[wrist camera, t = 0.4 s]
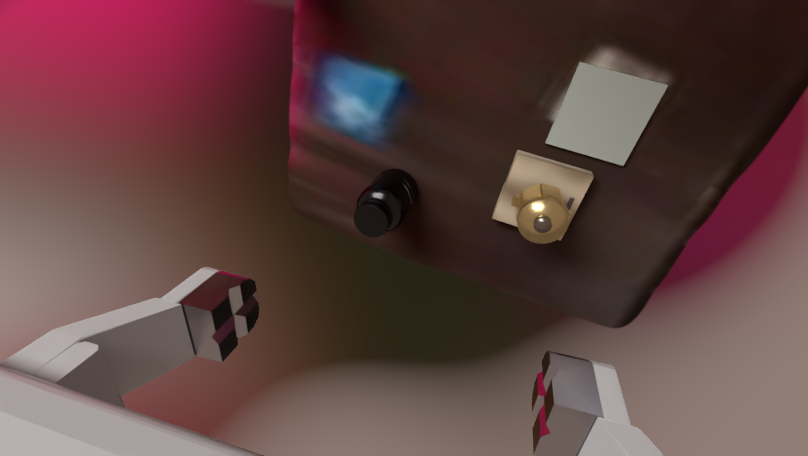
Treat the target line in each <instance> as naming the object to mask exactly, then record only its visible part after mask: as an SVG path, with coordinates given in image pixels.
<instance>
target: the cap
mask: <svg viewBox="0 0 808 456" xmlns="http://www.w3.org/2000/svg"><path fill="white" fill-rule="evenodd" d="M511 206H514V207H516V221H517V226H518V229H519V232H520V233H521V234H522V236H523V237H524V238H526V239H527V240H529V241H531V242H534V243H539V244H546V243H551V242H554V241H556V240H558V239H559V238H560V237H562V236H563V235H564V233H565V232H566V230H567V228H568V224H569V219H570V217H571V215H572V211H571V210H568V209H567V205H566V202H565V200H564V198H563V196H562V194H561V191H560V189H558V188H557V187H553V186H550V185H547V184H544V183H541V184H540V183H538V184H536V185H533V186H531V187H529V188H526V189H524V190H523V191H522V192H521V195H519V194H516V193H515V194H514V197H513V199H512V202H511Z"/></svg>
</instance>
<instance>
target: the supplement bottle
mask: <svg viewBox="0 0 808 456" xmlns="http://www.w3.org/2000/svg"><path fill="white" fill-rule="evenodd" d="M416 197H417V186H416V183H415V181H414V179H413V178H412V177H411V176H410V175H409V174H408V173H407V172H405V171H403V170H400V169H388V170H386V171H384V172H382V173H381V174H380V175H379V176H378V177H377V178H376V179H375V180H374V181H373V182H372V183H371V184H370V185H369V186H368V187H367V188H366V189H365V190H364V191H363V192H362V193H361V194H360V196H359V198H358V201H357V209H356V211H355V213H354V223H355V226H356V227H357V229H358V230H359V231H360V232H361V233H362V234H364V235H365V236H368V237H375V238H376V237H379V236H382V235H383V234H385V232H389V231H392V230H394V229H396V228H397V227H398V226H399V225H400V224H401V222H402V221H403V219H404V218H405V216H406V214H407V213H408V211H409V210H410V208H411V207H412V205H413V204H414V202H415V200H416Z"/></svg>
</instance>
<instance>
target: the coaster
mask: <svg viewBox="0 0 808 456" xmlns="http://www.w3.org/2000/svg"><path fill="white" fill-rule="evenodd" d="M667 87H668V85H666V84H662V83H659V82H655V81H651V80H647V79H643V78H640V77H636V76H632V75H628V74H624V73H621V72H617V71H613V70H609V69H605V68H602V67H598V66H594V65H590V64H586V63H583V62H579V65H578V67H577V69H576V72H575V74H574V76H573V79H572V81H571V83H570V86H569V88H568V90H567V93H566V95H565V97H564V100H563V102H562V104H561V107H560V109H559V111H558V114H557V116H556V118H555V121H554V123H553V125H552V128H551V130H550V133H549V135H548V137H547V140H546V143H547V144H550V145H553V146H557V147H560V148H564V149H567V150H570V151H574V152H577V153H581V154H584V155H588V156H591V157H594V158H598V159H601V160H605V161H608V162H612V163H615V164H618V165H622V166H624V164H625V162H626V160H627V159H628V157H629V155H630V153H631V151H632V150H633V148H634V146H635V144H636V142H637V141H638V139H639V137H640V135H641V133H642V132H643V130H644V128H645V126H646V124H647V123H648V121H649V119H650V117H651V115H652V114H653V112H654V110H655V108H656V106H657V105H658V103H659V101H660V99H661V97H662V96H663V94H664V92H665V90H666V89H667Z"/></svg>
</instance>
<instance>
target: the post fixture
mask: <svg viewBox="0 0 808 456" xmlns="http://www.w3.org/2000/svg"><path fill="white" fill-rule="evenodd" d="M593 178H594V176H593V174H592V172H591V171H588V170H584V169H581V168H578V167H574V166H571V165H568V164H564V163H561V162H557V161H554V160H551V159H547V158H544V157H541V156H537V155H534V154H531V153H527V152H524V151H520V150H517V152H516V155H515V158H514V160H513V163H512V165H511V168H510V170H509V173H508V175H507V178H506V181H505V183H504V186H503V188H502V191H501V193H500V196H499V198H498V201H497V204H496V206H495V209H494V211H493V216H492V219H495V220H498V221H501V222H504V223H507V224H511V225H514V226H517V221H516V207H514V206H511V202H512V199H513V197H514V194H515V193H516V194H519V195H521V192H522V191H523V190H524V189H526V188H529V187H531V186H533V185H536V184H538V183H540V184H541V183H544V184H547V185H550V186H553V187H557V188H558V189H560V191H561V194H562V196H563V198H564V200H565V202H566V205H567V209H568V210H571V211H572V215H571V217H570V219H569V224H570V222H571V220H572V218H573V216H574V214H575V212H576V211H577V209H578V207H579V205H580V203H581V201H582V199H583V197H584V195H585V193H586V191H587V189H588V188H589V186H590V184H591V182H592V180H593ZM569 224H568V226H569ZM517 227H518V226H517ZM564 234H565V233H564ZM562 237H563V236H562ZM562 237H560V238H559V239H558V240H560V241H561V239H562Z"/></svg>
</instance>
